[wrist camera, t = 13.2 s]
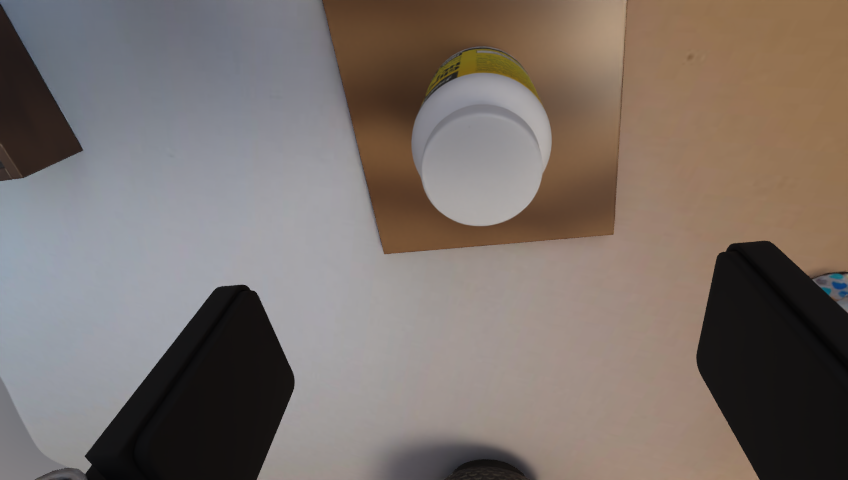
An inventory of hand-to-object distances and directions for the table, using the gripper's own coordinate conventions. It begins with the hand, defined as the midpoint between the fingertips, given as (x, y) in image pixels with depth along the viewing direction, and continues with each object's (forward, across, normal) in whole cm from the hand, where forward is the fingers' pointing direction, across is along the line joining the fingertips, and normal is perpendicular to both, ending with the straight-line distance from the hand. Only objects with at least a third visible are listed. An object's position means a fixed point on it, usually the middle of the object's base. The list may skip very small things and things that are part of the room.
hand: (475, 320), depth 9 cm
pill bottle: (+20, 0, +1) cm, 20 cm away
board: (+21, 0, +1) cm, 21 cm away
